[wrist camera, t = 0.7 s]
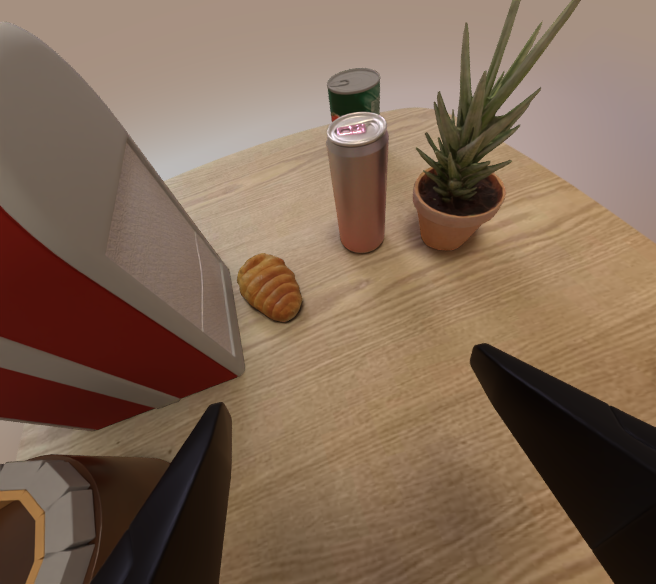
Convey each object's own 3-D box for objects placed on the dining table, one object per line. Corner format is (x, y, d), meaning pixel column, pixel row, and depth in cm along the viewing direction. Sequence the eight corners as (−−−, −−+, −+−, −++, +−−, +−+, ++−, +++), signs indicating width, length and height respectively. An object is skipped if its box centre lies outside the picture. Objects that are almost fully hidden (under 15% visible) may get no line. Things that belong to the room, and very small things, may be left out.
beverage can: (339, 226, 40) (324, 116, 27) (381, 221, 39) (384, 106, 27) (342, 258, 36) (325, 149, 24) (387, 252, 36) (394, 138, 23)
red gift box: (247, 375, 30) (-159, 86, 7) (86, 435, 28) (-1001, 323, 6) (229, 265, 39) (27, -14, 16) (106, 308, 38) (-294, 73, 15)
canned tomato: (375, 135, 51) (376, 63, 42) (382, 159, 47) (384, 85, 38) (334, 143, 52) (325, 73, 43) (337, 167, 48) (328, 95, 38)
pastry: (318, 302, 33) (312, 285, 30) (272, 337, 32) (261, 323, 28) (278, 259, 38) (269, 241, 35) (236, 288, 36) (223, 271, 33)
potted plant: (498, 250, 34) (695, -90, 13) (424, 270, 34) (504, -39, 13) (459, 200, 39) (554, -94, 19) (396, 217, 39) (420, -59, 19)
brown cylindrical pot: (210, 574, 21) (112, 640, 13) (52, 696, 19) (-177, 861, 11) (174, 431, 27) (93, 417, 20) (52, 509, 25) (-95, 530, 17)
